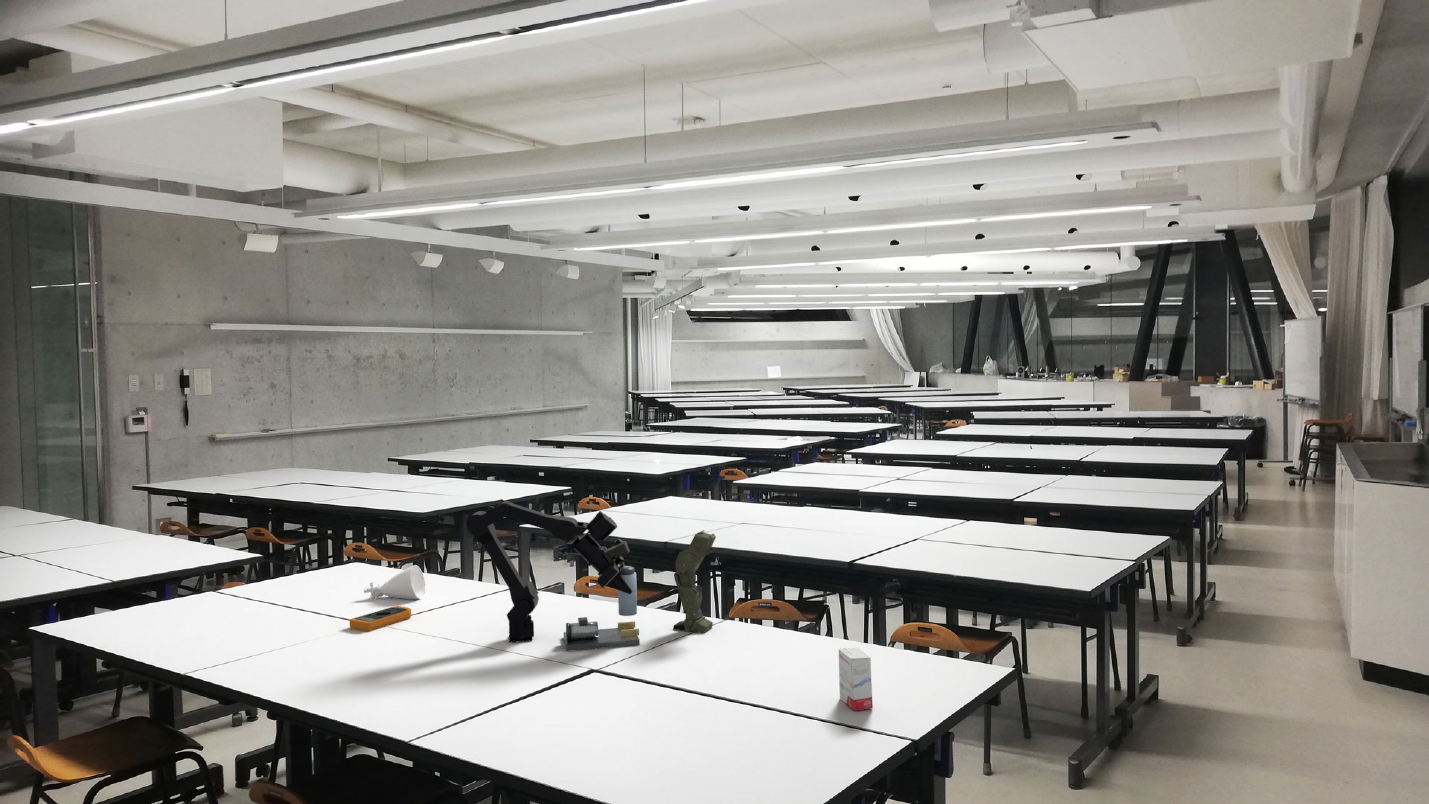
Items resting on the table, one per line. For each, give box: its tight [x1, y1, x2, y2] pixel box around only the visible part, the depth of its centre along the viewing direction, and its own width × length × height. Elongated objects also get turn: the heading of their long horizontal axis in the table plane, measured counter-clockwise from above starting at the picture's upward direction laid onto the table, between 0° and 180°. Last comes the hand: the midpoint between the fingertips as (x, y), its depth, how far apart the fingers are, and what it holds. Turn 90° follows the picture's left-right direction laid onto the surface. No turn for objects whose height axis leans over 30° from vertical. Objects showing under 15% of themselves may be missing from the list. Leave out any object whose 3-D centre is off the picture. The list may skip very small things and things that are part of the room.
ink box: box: [838, 646, 874, 712], centre depth 211 cm, size 9×5×12 cm, turn 13°
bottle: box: [617, 566, 638, 617], centre depth 265 cm, size 5×5×13 cm
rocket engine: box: [363, 564, 426, 601], centre depth 314 cm, size 12×12×18 cm
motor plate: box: [563, 616, 641, 652], centre depth 262 cm, size 20×13×7 cm, turn 103°
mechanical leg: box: [672, 529, 717, 634], centre depth 271 cm, size 14×7×30 cm, turn 68°
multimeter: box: [349, 605, 412, 633], centre depth 284 cm, size 9×18×3 cm, turn 150°
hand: (632, 590), depth 265 cm, fingers closed on bottle, 5 cm apart
